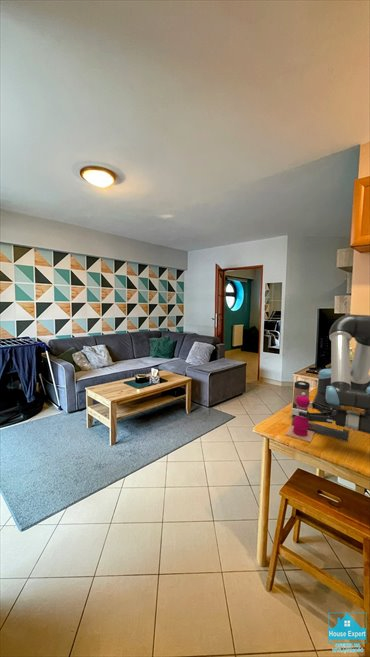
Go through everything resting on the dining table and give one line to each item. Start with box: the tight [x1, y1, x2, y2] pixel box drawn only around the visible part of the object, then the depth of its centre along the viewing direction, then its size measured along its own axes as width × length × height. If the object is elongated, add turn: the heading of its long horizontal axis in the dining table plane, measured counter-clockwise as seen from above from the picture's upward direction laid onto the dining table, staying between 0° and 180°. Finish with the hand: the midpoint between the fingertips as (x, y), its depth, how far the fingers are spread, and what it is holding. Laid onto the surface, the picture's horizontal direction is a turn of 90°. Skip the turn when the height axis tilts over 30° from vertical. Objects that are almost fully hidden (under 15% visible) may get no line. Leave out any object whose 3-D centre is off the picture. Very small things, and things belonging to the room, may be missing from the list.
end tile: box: [285, 424, 316, 444], centre depth 123 cm, size 11×11×1 cm
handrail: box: [291, 416, 350, 443], centre depth 125 cm, size 24×2×4 cm, turn 55°
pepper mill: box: [293, 392, 311, 436], centre depth 122 cm, size 7×7×20 cm
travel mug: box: [291, 380, 311, 417], centre depth 139 cm, size 8×8×20 cm
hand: (294, 406), depth 124 cm, fingers open, 13 cm apart
